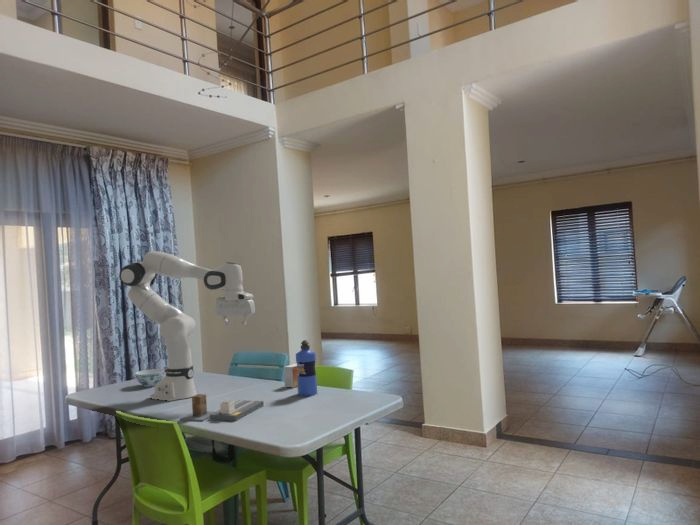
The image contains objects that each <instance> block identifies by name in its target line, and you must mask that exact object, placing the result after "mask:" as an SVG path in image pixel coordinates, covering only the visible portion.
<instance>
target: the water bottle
mask: <svg viewBox="0 0 700 525" xmlns="http://www.w3.org/2000/svg"><path fill="white" fill-rule="evenodd" d="M309 343H310V342H309V341H308V340H307V339H305V340H302V341H301V342H300V351H298V352H297V353H295V362H296V364H297V368H298V373H297V384H298V386H297V395H298V396H299V395H302V396H301V397H311V396H310V395H313V396H316V395H318V382H317V380H318V379H317V373H316V372H317V371H316V360H317V358H316V356H317V355H316V352H315V351H313V350H311V349H310V348H311V347H310V344H309ZM315 394H316V395H315Z"/></svg>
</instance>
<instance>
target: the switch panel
mask: <svg viewBox="0 0 700 525" xmlns="http://www.w3.org/2000/svg"><path fill="white" fill-rule="evenodd" d="M264 404H265V403H264V401H263V400H245V399H244V400H242V399H241V400H240V399H239V400H237V401H234V405H235V410H233V411H231V412H229V413H228V414H221V410H220V409H219V410H217V411H213V412H214V413H212V414H210V418H209V420H210V419H212V420H211V421H213V420H214V421H224V420H229V421H231V422H237V421H238V419H239V420H240V418H241V419H242V418H244V417H245V416H248V415H249V413H250V414H251V413H253V412H255V411H257V410H258V409H260V408H262V407H264ZM247 414H248V415H247ZM236 420H237V421H236ZM229 421H228V422H229Z"/></svg>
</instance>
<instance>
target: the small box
mask: <svg viewBox="0 0 700 525" xmlns="http://www.w3.org/2000/svg"><path fill="white" fill-rule="evenodd" d="M283 373H284V374H283V377H284V378H283V379H284V388H287V387H292V388H291V389H294V388H298V384H297V373H298V368H297V363H292V364H289V365H286V366H283Z"/></svg>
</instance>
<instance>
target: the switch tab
mask: <svg viewBox="0 0 700 525" xmlns="http://www.w3.org/2000/svg"><path fill="white" fill-rule="evenodd" d="M234 403H235V401H234V400H228V399H227V400H224V401H222V402H221V403H219V404H220V408H219V410H221V414H228V413H229V412H231V411H233V410H235V405H234Z"/></svg>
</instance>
